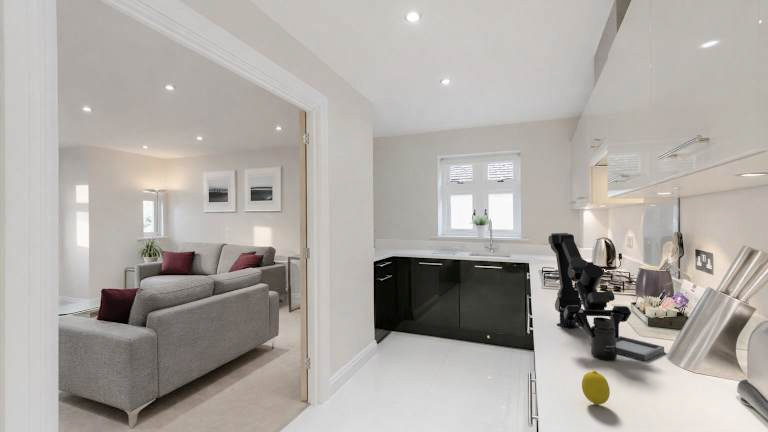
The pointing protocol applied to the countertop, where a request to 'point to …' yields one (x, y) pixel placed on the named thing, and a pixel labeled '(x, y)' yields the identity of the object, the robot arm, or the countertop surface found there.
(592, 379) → the lemon
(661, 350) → the base plate
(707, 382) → the countertop surface
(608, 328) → the supplement bottle
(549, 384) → the countertop surface
